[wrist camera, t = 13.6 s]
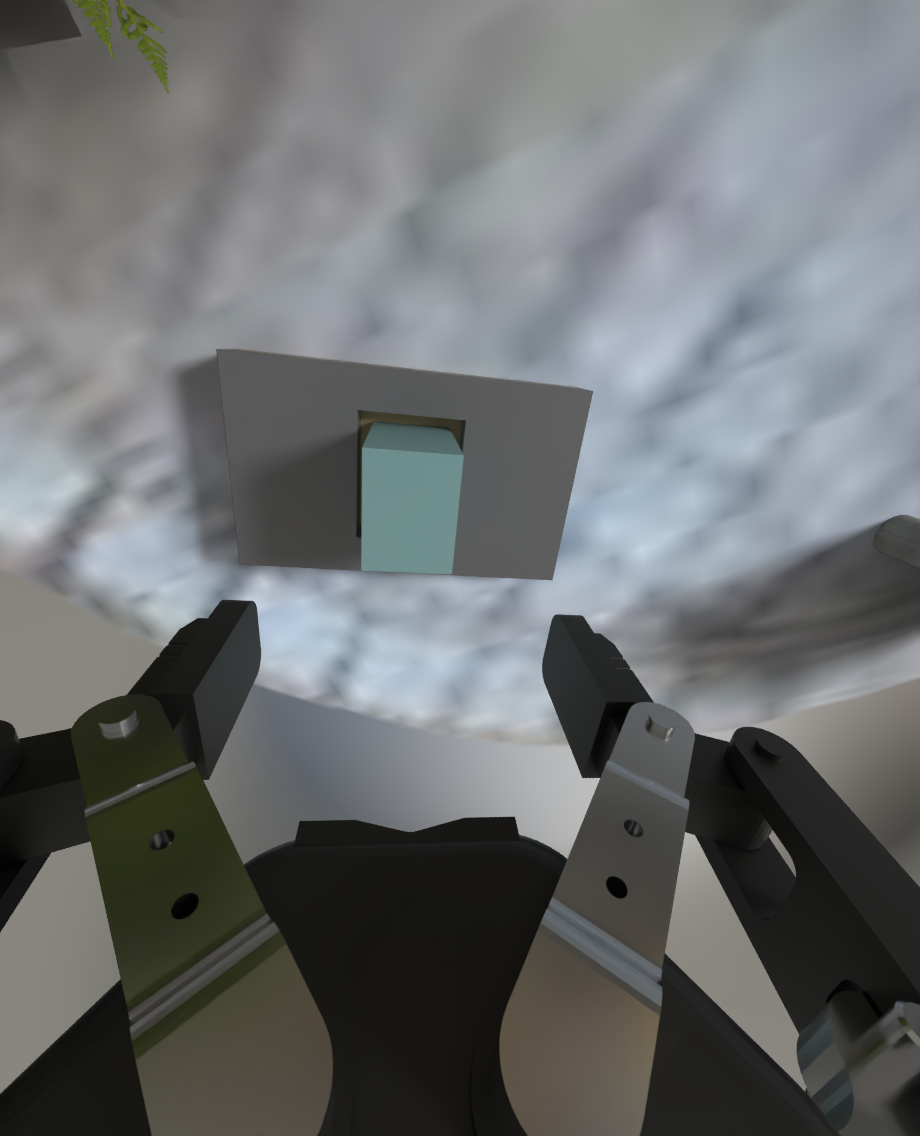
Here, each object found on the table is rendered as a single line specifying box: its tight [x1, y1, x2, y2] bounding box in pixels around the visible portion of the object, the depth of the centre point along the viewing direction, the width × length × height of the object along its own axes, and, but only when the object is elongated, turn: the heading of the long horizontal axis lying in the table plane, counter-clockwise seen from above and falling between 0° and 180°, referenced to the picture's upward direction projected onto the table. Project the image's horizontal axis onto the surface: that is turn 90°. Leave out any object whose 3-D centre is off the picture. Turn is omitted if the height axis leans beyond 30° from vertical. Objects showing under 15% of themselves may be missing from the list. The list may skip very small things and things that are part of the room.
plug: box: [361, 421, 464, 574], centre depth 25 cm, size 6×4×8 cm
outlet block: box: [216, 349, 593, 580], centre depth 28 cm, size 12×20×3 cm, turn 84°
